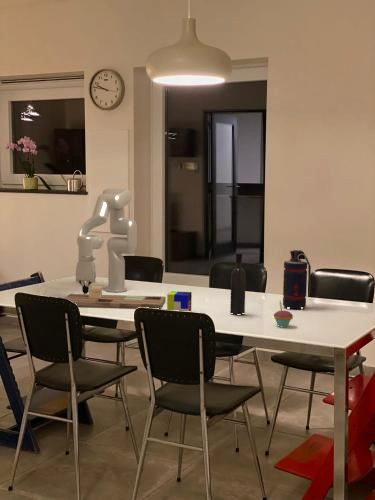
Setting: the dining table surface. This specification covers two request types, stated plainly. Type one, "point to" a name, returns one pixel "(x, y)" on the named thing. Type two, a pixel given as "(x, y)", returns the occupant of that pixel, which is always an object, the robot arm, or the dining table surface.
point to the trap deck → (117, 301)
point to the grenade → (296, 280)
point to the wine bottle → (238, 287)
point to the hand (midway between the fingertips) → (85, 293)
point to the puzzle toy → (179, 301)
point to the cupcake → (283, 317)
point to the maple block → (95, 292)
